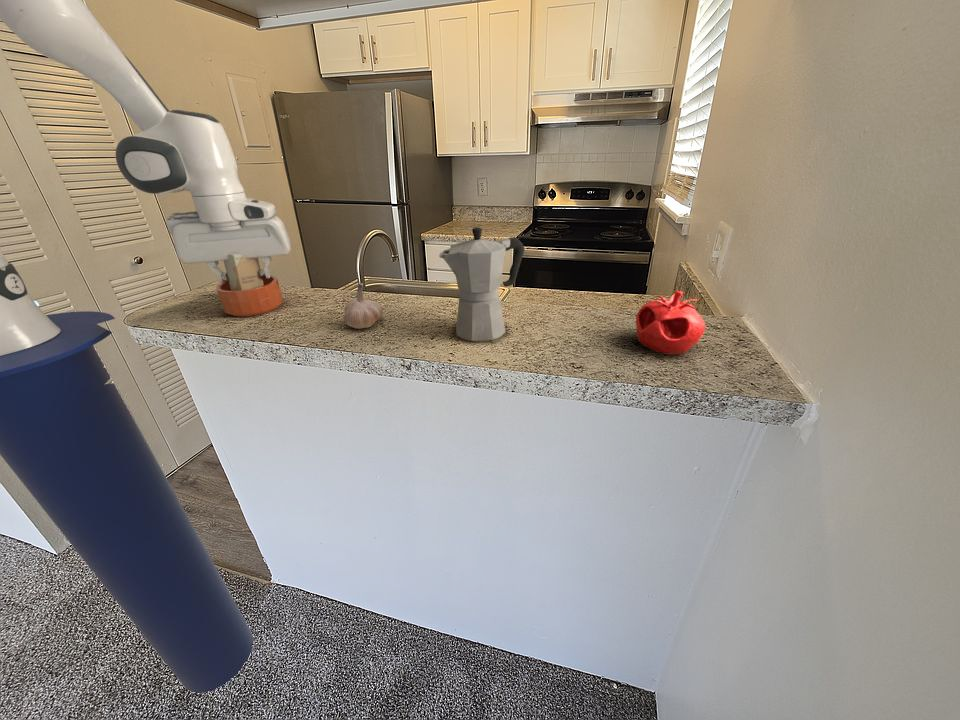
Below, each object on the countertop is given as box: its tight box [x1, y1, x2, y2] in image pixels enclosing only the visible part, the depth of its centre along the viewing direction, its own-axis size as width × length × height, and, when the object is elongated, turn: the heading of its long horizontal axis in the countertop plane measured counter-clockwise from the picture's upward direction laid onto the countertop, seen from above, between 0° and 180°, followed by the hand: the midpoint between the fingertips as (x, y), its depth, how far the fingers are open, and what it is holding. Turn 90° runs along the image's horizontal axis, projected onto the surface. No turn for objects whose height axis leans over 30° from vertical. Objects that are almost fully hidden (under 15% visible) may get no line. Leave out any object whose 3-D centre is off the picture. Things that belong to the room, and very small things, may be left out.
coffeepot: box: [438, 226, 525, 343], centre depth 68 cm, size 15×9×18 cm, turn 117°
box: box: [223, 254, 264, 291], centre depth 84 cm, size 5×4×11 cm
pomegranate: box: [635, 290, 706, 355], centre depth 63 cm, size 10×10×9 cm
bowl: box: [215, 274, 284, 317], centre depth 85 cm, size 11×11×6 cm
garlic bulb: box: [343, 282, 384, 330], centre depth 75 cm, size 8×7×8 cm
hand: (246, 280), depth 84 cm, fingers closed on box, 6 cm apart
